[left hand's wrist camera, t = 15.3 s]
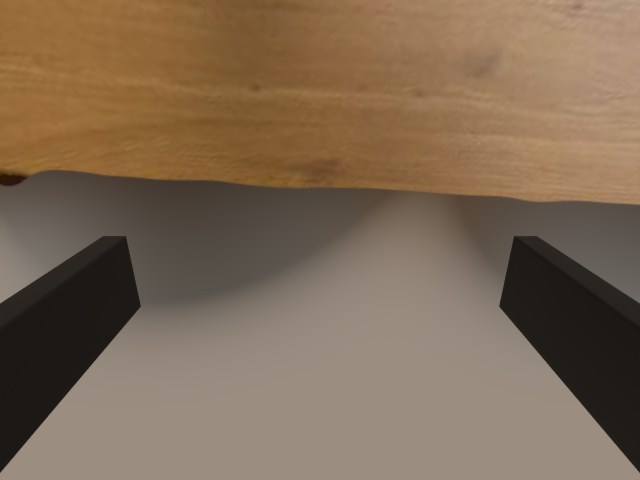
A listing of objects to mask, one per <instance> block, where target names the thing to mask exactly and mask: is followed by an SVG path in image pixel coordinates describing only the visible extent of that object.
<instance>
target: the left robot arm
mask: <svg viewBox="0 0 640 480" xmlns="http://www.w3.org/2000/svg"><path fill="white" fill-rule="evenodd" d="M140 307H141V306H140V301H139V296H138V291H137V287H136V282H135V277H134V272H133V268H132V263H131V258H130V254H129V249H128V244H127V239H126V236H103V237H101V238H100V239H98V240H97V241H95V242H94V243H92V244H91V245H89V246H88V247H86V248H85V249H83V250H82V251H80V252H78V253H77V254H75V255H74V256H72V257H71V258H69V259H68V260H66V261H65V262H63V263H62V264H60V265H59V266H57V267H55V268H54V269H52V270H51V271H49V272H48V273H46V274H45V275H43V276H42V277H40V278H39V279H37V280H36V281H34V282H33V283H31V284H30V285H28V286H26V287H25V288H23V289H22V290H20V291H19V292H17V293H16V294H14V295H13V296H11V297H10V298H8V299H7V300H5V301H3V302H2V303H0V472H1V471H2V470H3V469H4V468H5V466H6V465H7V464H8V463H9V462H10V461H11V459H12V458H13V457H14V456H15V455H16V453H17V452H18V451H19V450H20V449H21V448H22V446H23V445H24V444H25V443H26V442H27V440H28V439H29V438H30V437H31V436H32V435H33V433H34V432H35V431H36V430H37V429H38V427H39V426H40V425H41V424H42V423H43V422H44V420H45V419H46V418H47V417H48V416H49V414H50V413H51V412H52V411H53V410H54V408H55V407H56V406H57V405H58V404H59V403H60V401H61V400H62V399H63V398H64V397H65V395H66V394H67V393H68V392H69V391H70V390H71V388H72V387H73V386H74V385H75V384H76V382H77V381H78V380H79V379H80V378H81V376H82V375H83V374H84V373H85V372H86V371H87V369H88V368H89V367H90V366H91V365H92V363H93V362H94V361H95V360H96V359H97V358H98V356H99V355H100V354H101V353H102V352H103V351H104V349H105V348H106V347H107V346H108V345H109V343H110V342H111V341H112V340H113V339H114V338H115V336H116V335H117V334H118V333H119V332H120V330H121V329H122V328H123V327H124V326H125V324H126V323H127V322H128V321H129V320H130V319H131V317H132V316H133V315H134V314H135V313H136V311H137V310H138V309H139V308H140ZM499 307H500V308H501V309H502V310H503V311H504V313H505V314H506V315H507V316H508V317H509V319H510V320H511V321H512V322H513V323H514V324H515V326H516V327H517V328H518V329H519V330H520V332H521V333H522V334H523V335H524V336H525V338H526V339H527V340H528V341H529V342H530V343H531V345H532V346H533V347H534V348H535V349H536V351H537V352H538V353H539V354H540V355H541V356H542V358H543V359H544V360H545V361H546V362H547V364H548V365H549V366H550V367H551V368H552V369H553V371H554V372H555V373H556V374H557V375H558V377H559V378H560V379H561V380H562V381H563V382H564V384H565V385H566V386H567V387H568V388H569V390H570V391H571V392H572V393H573V394H574V396H575V397H576V398H577V399H578V400H579V401H580V403H581V404H582V405H583V406H584V407H585V408H586V410H587V411H588V412H589V413H590V414H591V416H592V417H593V418H594V419H595V420H596V422H597V423H598V424H599V425H600V426H601V427H602V429H603V430H604V431H605V432H606V433H607V435H608V436H609V437H610V438H611V439H612V440H613V442H614V443H615V444H616V445H617V446H618V448H619V449H620V450H621V451H622V452H623V453H624V455H625V456H626V457H627V458H628V459H629V461H630V462H631V463H632V464H633V465H634V466H635V468H636V469H637V470H638V471H639V472H640V303H638V302H637V301H635V300H633V299H632V298H630V297H629V296H627V295H626V294H624V293H623V292H621V291H620V290H618V289H617V288H615V287H613V286H612V285H611V284H609V283H607V282H606V281H604V280H603V279H601V278H600V277H598V276H597V275H595V274H594V273H592V272H591V271H589V270H587V269H586V268H584V267H583V266H582V265H580V264H578V263H577V262H575V261H574V260H572V259H571V258H569V257H568V256H566V255H565V254H563V253H562V252H560V251H559V250H557V249H556V248H554V247H552V246H551V245H549V244H548V243H546V242H545V241H543V240H542V239H540V238H539V237H537V236H514V239H513V244H512V249H511V254H510V258H509V263H508V268H507V272H506V277H505V282H504V287H503V291H502V296H501V301H500V305H499Z"/></svg>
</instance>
